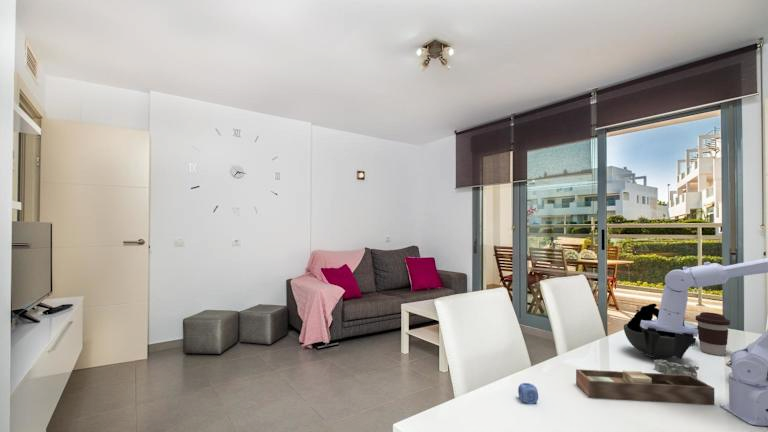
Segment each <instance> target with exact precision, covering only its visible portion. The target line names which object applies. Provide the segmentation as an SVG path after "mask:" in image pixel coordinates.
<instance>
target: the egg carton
mask: <svg viewBox="0 0 768 432" xmlns="http://www.w3.org/2000/svg"><path fill="white" fill-rule="evenodd" d="M653 362H654V370H656V372H657V373H658V372H659V373H663V374H677V375H691V376H693V377H694V378H696V379H698V372H697V371H699V370H700V367H699V366H696V365H693V364H688V365H685V364H679V363H677V362H676V363H675V362H669V361H668V360H667V359H666V360H665V359H663V358H660V359H653Z"/></svg>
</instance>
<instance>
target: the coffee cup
mask: <svg viewBox="0 0 768 432" xmlns="http://www.w3.org/2000/svg"><path fill="white" fill-rule="evenodd" d="M695 321H697V324H696V325H697V327H698V335H697V338H698V340H699V348H700V349H699V350H700V351H701V352H702V353H705V354H708V355H712V356H719V355H720V356H722V355H723V356H725V355H726V354H727V345H728V339H729V338H728V337H729V329H728V327H729V326H730V325H731V321H730V319H728V318H726V317H725V315H723V314H721V313H716V312H709V311H708V312H706V311H703V312H700V313H699V314H698V315H695Z"/></svg>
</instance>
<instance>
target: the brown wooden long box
mask: <svg viewBox="0 0 768 432" xmlns="http://www.w3.org/2000/svg"><path fill="white" fill-rule="evenodd" d="M643 373H644V374H645V375H647V376H648V377H650V378H651V379H652V384H648V383H629V382H626V381H625V380H623V371H619V370H618V371H616V370H615V371H614V370H595V369H578V368H577V369H575V376H576V378H575V380H576V381H575V385H576V386H577V387H578V388H579V389H580V390H582V392H583V393H585V395H586V396H588V398H589V399H607V400H608V399H609V400H621V401H624V400H625V401H639V402H655V403H656V402H658V403H660V402H661V403H676V404H689V405H690V404H692V405H706V406H707V405H709V406H710V405H711V406H714V405H715V388H714V387H713V386H711V385H709V384H707V383H706V382H704V381H702V380H700V379H699V378H697V379H696V378H694V377H693V376H691V375H677V374H667V373H658V372H657V373H655V372H653V373H652V372H643Z"/></svg>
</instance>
